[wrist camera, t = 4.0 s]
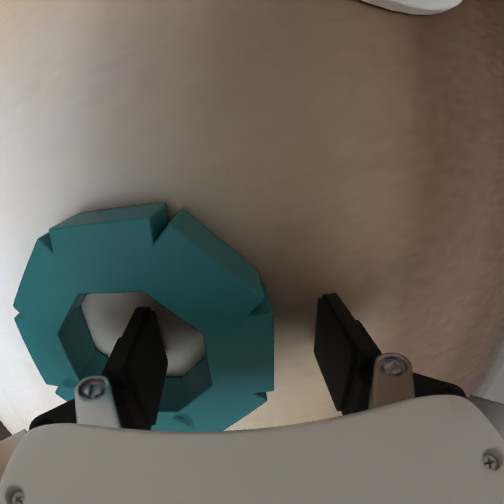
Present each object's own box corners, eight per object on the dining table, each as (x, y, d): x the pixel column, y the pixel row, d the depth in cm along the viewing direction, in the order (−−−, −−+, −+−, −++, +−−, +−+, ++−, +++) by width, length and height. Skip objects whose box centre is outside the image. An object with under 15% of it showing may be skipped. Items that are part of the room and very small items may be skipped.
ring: (20, 222, 10) (-12, 239, 8) (261, 194, 10) (271, 207, 8) (86, 399, 13) (74, 428, 11) (267, 401, 14) (273, 436, 12)
